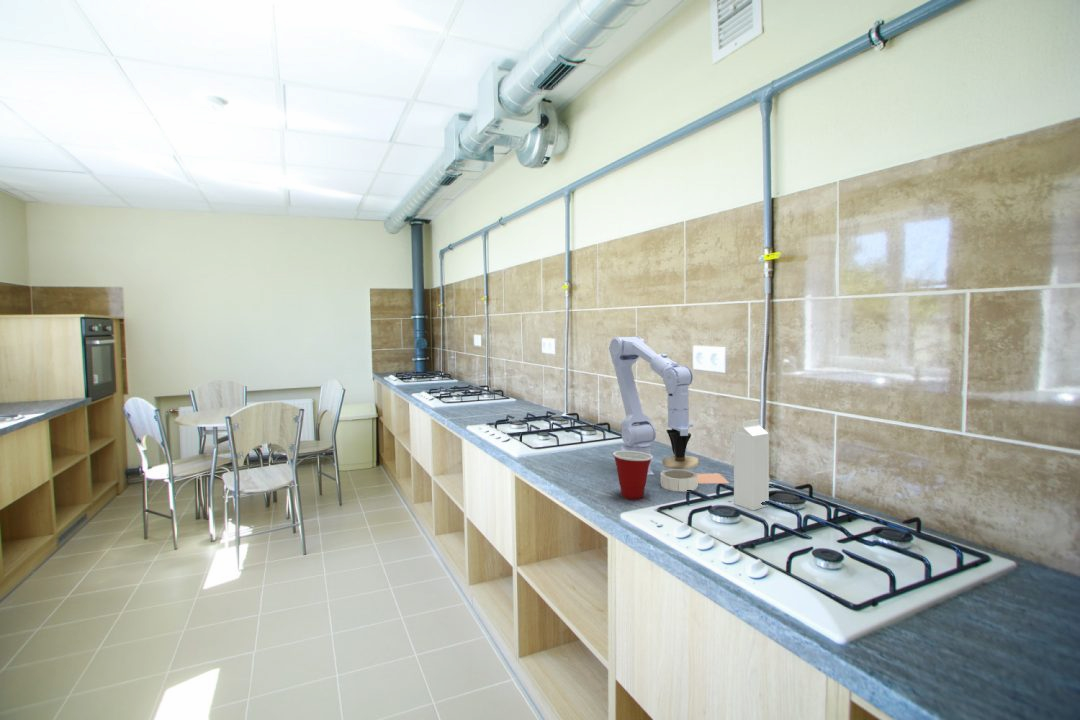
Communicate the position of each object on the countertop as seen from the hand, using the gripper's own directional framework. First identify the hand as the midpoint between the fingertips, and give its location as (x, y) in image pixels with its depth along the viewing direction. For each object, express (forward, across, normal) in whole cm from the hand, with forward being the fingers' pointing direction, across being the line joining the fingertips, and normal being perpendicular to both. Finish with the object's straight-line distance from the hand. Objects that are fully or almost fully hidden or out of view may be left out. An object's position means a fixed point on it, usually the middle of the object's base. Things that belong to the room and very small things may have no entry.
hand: (678, 455), depth 146 cm
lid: (+2, 0, 0) cm, 2 cm away
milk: (+10, -15, -15) cm, 23 cm away
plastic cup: (+10, -7, +14) cm, 18 cm away
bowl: (+9, 0, 0) cm, 9 cm away
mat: (+9, +7, -10) cm, 15 cm away
